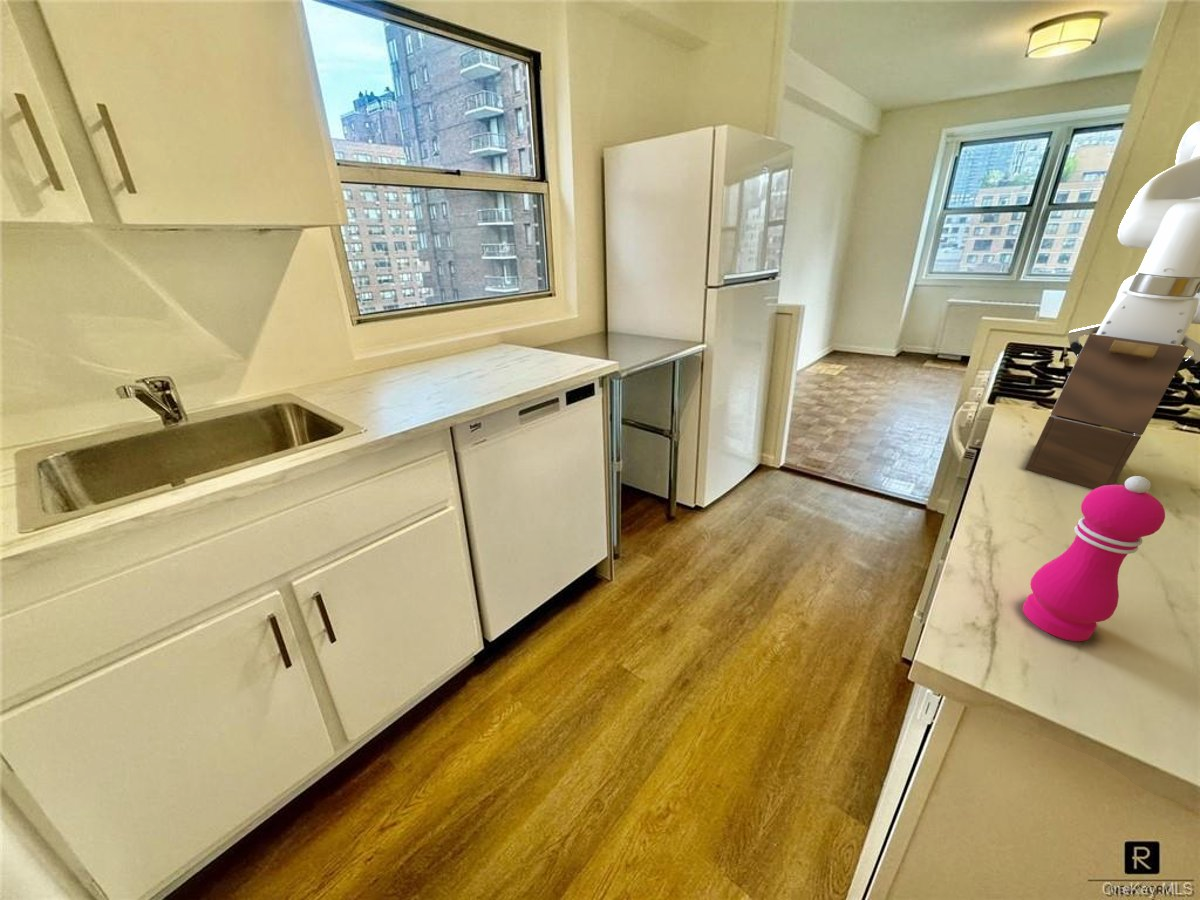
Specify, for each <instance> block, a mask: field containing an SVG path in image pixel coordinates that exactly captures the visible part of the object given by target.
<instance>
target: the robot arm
mask: <svg viewBox="0 0 1200 900" xmlns="http://www.w3.org/2000/svg"><path fill="white" fill-rule="evenodd" d="M1117 240H1118V242H1119V243H1120V244H1121V245H1122V246H1124V247H1127V248H1133V249H1147V252H1146V253H1145V255H1144V257H1143V259H1142V262H1141V264H1140V265H1139V268H1138V269H1137V272H1136V274H1134V275H1131V276H1130V277H1128V278H1126V279H1125V280H1124V281H1123V282H1122V284H1121V285H1120V287H1119V289H1118V291H1117V293H1116V296H1115V300H1114V301H1113V303H1111V306H1110V308H1109V309H1108V311H1107V313H1106V315H1104V317H1103V320H1102V321H1101V323H1100V324H1096V325H1091V326H1087V327H1081V328H1078V329H1077V328H1076V329H1073V330H1070V331H1069V332H1068V333H1067V338H1068V344H1069V348H1070V350H1071V351H1072V353H1073V354H1074V355H1075V356H1076V359H1077V358H1078V356H1079V354H1080V352H1081V350H1082V348H1083V346H1084V345H1082V344H1081V342H1080V337H1084V336H1089V334H1095V335H1102V336H1110V337H1117V338H1125V339H1132V340H1139V341H1147V342H1154V343H1162V344H1169V345H1176V346H1184V347H1189V348H1188V350H1189V351H1191V352H1193V354H1191V355H1190V356H1188V357H1186V358H1183V359H1182V361H1181V363H1180V365H1179V367H1178V369H1177V371H1176V372H1175V373H1178V372H1181V371H1184V370H1186V369H1189V368H1192V367H1193V366H1195V365H1196V364H1197V363H1199V362H1200V342H1199V341H1197V340H1195V339H1194V338H1192V337H1191V336H1188V335H1187V333H1188V331H1189V329H1190V327H1191V324H1192V325H1200V120H1198V121H1196V122H1194V123H1193V124H1192V125H1190V126H1189V128H1187V130H1186V131H1185V132H1184V134H1183V136H1182V138H1181V140H1180V143H1179V146H1178V148H1177V152H1176V159H1175V165H1173V166H1172V167H1170V168H1168V169H1166V170H1163V171H1162V172H1160V173H1158V174H1157V175H1155V176H1154V177H1152V178H1151V179H1149V181H1147V182H1146V183H1145V184H1144V185H1143V187H1141V188H1140V189H1139V191H1138V193H1137V194H1136V195H1135V197H1134V199H1133V200H1132V202H1131V204H1130V206H1129V207H1128V209H1127V210H1126V213H1125V214H1124V217H1123V218H1122V220H1121V223H1120V225H1119V228H1118V231H1117Z"/></svg>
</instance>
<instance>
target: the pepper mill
mask: <svg viewBox="0 0 1200 900" xmlns="http://www.w3.org/2000/svg"><path fill="white" fill-rule="evenodd" d="M1151 485H1152V484H1151V481H1150V480H1149V479H1148V478H1146V477H1144V476H1141V475H1134V476H1133V475H1132V476H1130V477H1128V478H1126V480H1125V481H1124V485H1123V484H1114V485H1105V486H1101V487H1098V488H1096V489H1092V490H1090V491H1089V492H1088V493H1087V494H1086V495H1085V497H1084V498H1083V499H1082V502H1081V505H1080V511H1081V514H1082V515H1083V517H1081V518H1079V519H1078V522H1077V525H1075V526H1074V528H1073V530H1074V533H1075V534H1076V535H1075V538H1074V540H1073V541H1072V542H1071V544H1070V545H1069V546H1068V548H1067V549H1066V550H1065V551H1063V553H1061V554H1060V555H1059V556H1057V557H1056V558H1054V559H1052V560H1050V561H1048V562H1047V563H1045V564H1043V565H1042V566H1041V567H1040V568H1039V569H1037V571H1036V572H1034V574H1033V576H1032V578H1031V579H1030V584H1029V585H1030V589H1031V591H1032V592H1031V593H1029V595H1028V596H1027V598H1026V599H1025V601H1024V603H1023V605H1022V611H1023V614H1024V615H1025V617H1026V618H1027V619H1028V620H1029V621H1030V623H1031V624H1033V625H1034V626H1035V627H1037V628H1039V629H1040V630H1042V631H1044V632H1045V633H1047V634H1049V635H1051V636H1054V637H1056V638H1059V639H1062V640H1065V641H1070V642H1083V641H1084V642H1085V641H1087V640H1089V639H1090V638H1091V637H1092V635H1093V633H1094V632H1095V630H1096V628H1097V626H1098V624H1097V623H1099V622H1105V621H1107V620H1108V619H1110V618H1111V617H1112V616H1113V615H1114V613H1115V611H1116V609H1117V607H1118V603H1119V598H1120V594H1119V583H1118V582H1119V581H1118V580H1119V572H1120V568H1121V566H1122V564H1123V561H1124V560H1125V559H1126V557H1127V556H1128V555H1130V554H1135V553H1137V552H1138V550H1139V546H1141V545H1142V544H1143V541H1144V540H1143V537H1147V536H1151V535H1153V534H1155V533H1156V532H1158V531H1159V530H1160V529H1161V528H1162V526H1163V525H1164V523H1165V519H1166V511H1165V508H1164V506H1163V504H1162V503H1161V501H1160V500H1159V499H1157V498H1156V497H1155V496H1153V495H1152V494H1150V493H1149V492H1148V491H1149V490H1150V489H1151Z"/></svg>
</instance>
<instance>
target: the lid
mask: <svg viewBox="0 0 1200 900" xmlns="http://www.w3.org/2000/svg"><path fill="white" fill-rule="evenodd" d="M1082 346H1083V348H1082V350H1081V352H1080V354H1079V356H1078V358H1077V357H1076V360H1075V362H1074V365H1073V367H1072V368H1071V371H1070V372H1069V375H1068V376H1067V379H1066V381H1065V382H1064V385H1063V387H1062V388H1061V391H1060V393H1059V396H1058V397H1057V399H1056V402H1055V403H1054V406H1053V408H1052V410H1051V412H1050V415H1055V416H1060V417H1064V418H1068V419H1073V420H1077V421H1082V422H1086V423H1091V424H1095V425H1100V426H1104V427H1108V428H1113V429H1117V430H1122V431H1126V432H1131V433H1135V434H1140V435H1141V436H1143V435H1144V434H1145V431H1146V429H1147V427H1148V425H1149V423H1150V421H1151V419H1152V418H1153V416H1154V414H1155V412H1156V410H1157V408H1158V407H1159V406H1160V405H1159V404H1160V403H1161V401H1162V399H1163V397H1164V395H1165V393H1166V392H1167V390H1168V388H1169V385H1170V384H1171V382H1172V380H1173V378H1174V377H1175V374H1176V373H1177V372H1176V371H1177V369H1178V367H1179V365H1180V363H1181V361H1182V360H1184V358H1185V355H1186V353H1187V352H1188V350H1189V349H1188V348H1189V347H1185V346H1183V345H1180V346H1176V345H1169V344H1162V343H1154V342H1147V341H1139V340H1132V339H1125V338H1117V337H1110V336H1102V335H1096V333H1094V334H1089V335H1087V338H1086V340H1085V342H1084V344H1083V345H1082Z"/></svg>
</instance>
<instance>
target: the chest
mask: <svg viewBox="0 0 1200 900" xmlns="http://www.w3.org/2000/svg"><path fill="white" fill-rule="evenodd" d="M1141 437H1142V435H1140V434H1135V433H1131V432H1126V431H1122V430H1121V431H1116V430H1112V429H1107V428H1103V427H1101V426H1100V425H1095V424H1091V423H1086V422H1082V421H1077V420H1073V419H1068V418H1064V417H1060V416H1055V415H1051V414H1050V415H1049V416H1048V418H1047V421H1046V422H1045V424H1044V427H1043V429H1042V431H1041V433H1040V435H1039V438H1038V440H1037V442H1036V444H1035V446H1034V447H1033V450H1032V452H1031V455H1030V456H1029V459H1028V461H1027V463H1026V465H1025V467H1024V470H1027V471H1030V472H1033V473H1037V474H1040V475H1042V476H1043V475H1044V476H1047V477H1051V478H1054V479H1058V480H1061V481H1063V482H1064V481H1065V482H1068V483H1071V484H1074V485H1079V486H1081V487H1085V488H1088V489H1092V490H1094V489H1096V488H1098V487H1101V486H1105V485H1115V483H1116V481H1117V480H1118V478H1119V477H1120V474H1121V472H1122V471H1123V469H1124V468H1125V466H1126V464H1127V462H1128V461H1129V458H1130V457H1131V455H1132V453H1133V452H1134V450H1135V448H1136V446H1137V445H1138V443H1139V441H1140V440H1141Z"/></svg>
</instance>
